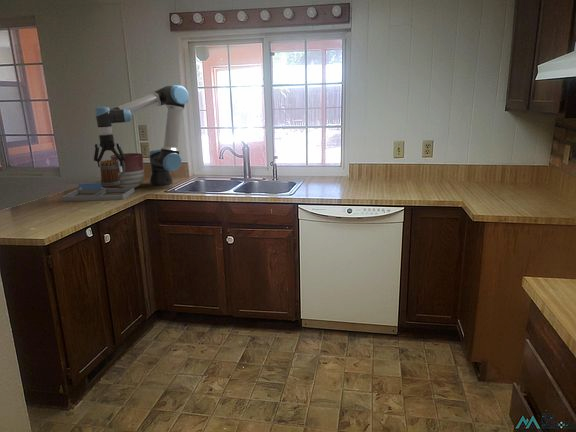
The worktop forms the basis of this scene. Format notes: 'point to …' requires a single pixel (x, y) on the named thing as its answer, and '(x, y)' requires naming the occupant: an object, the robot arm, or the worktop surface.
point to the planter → (131, 170)
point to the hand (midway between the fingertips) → (111, 172)
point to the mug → (111, 173)
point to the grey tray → (97, 193)
